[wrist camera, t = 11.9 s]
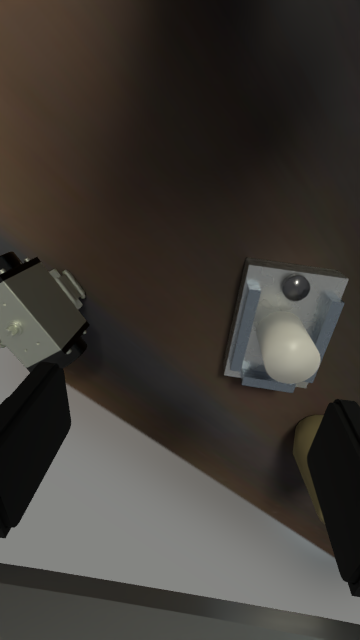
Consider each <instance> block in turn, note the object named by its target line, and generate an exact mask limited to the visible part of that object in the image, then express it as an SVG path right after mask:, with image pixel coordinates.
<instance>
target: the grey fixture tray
mask: <svg viewBox="0 0 360 640" xmlns="http://www.w3.org/2000/svg"><path fill="white" fill-rule="evenodd" d="M348 280H349V279H348V278H347V277H346V276H344V275H343V274H342V273H341V272H339V271H338V270H332V269H325V268H318V267H311V266H304V265H297V264H290V263H283V262H276V261H269V260H262V259H255V258H247V257H246V261H245V266H244V270H243V275H242V279H241V284H240V288H239V293H238V297H237V302H236V306H235V311H234V316H233V320H232V325H231V329H230V334H229V338H228V343H227V347H226V352H225V356H224V361H223V363H224V375H226V376H232V377H238V378H241V384H242V385H246V386H252V387H258V388H265V389H271V390H277V391H283V392H290V393H293V391H294V389H295V387H301V388H306V387H307V384H308V383H313V381H314V378H315V376H316V373H317V371H318V370H317V371H316V372H315V373H314V375H312V376H311V377H310V378H308V379H307V380H305V381H302V382H299V383H294V384H286V383H281V382H278V381H276V380H274V379H273V378H271V377H270V376H269V375H267V373H266V369H265V365H264V361H263V358H262V354H261V350H260V346H259V342H258V338H257V327H258V325H259V323H260V322H261V320H262V319H263V318H264V317H266V316H267V315H269V314H271V313H274V312H278V311H286V312H290V313H292V314H294V315H296V316H297V317H298V318H299V319H300V320H301V322H302V324H303V325H304V327H305V329H306V331H307V332H308V334H309V336H310V338H311V339H312V341H313V343H314V345H315V346H316V348H317V350H318V351H319V354H320V363H321V361H322V358H323V356H324V353H325V351H326V348H327V346H328V343H329V341H330V338H331V336H332V333H333V331H334V328H335V326H336V323H337V321H338V318H339V316H340V313H341V311H342V308H343V306H344V302H343V301H342V300H341V297H342V295H343V292H344V290H345V287H346V285H347V282H348ZM319 366H320V365H319Z"/></svg>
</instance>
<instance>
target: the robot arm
mask: <svg viewBox="0 0 360 640" xmlns="http://www.w3.org/2000/svg"><path fill="white" fill-rule="evenodd" d="M70 426H71V417H70V410H69V403H68V397H67V390H66V383H65V376H64V370H63V369H62V368H60V367H59V365H58V364H57V363H50V362H40V363H38V365H37V366H36V367H35V368H34V369H33V370H32V371H31V373H30V374H29V375H28V376H27V377H26V378H25V380H24V381H23V382H22V383H21V384H20V385H19V386H18V388H17V389H16V390H15V391H14V392H13V393H12V394H11V395H10V396H9V397H8V398H6V399H5V400H4V401H3V402H2V404H1V405H0V538H6V536H7V534H8V532H9V531H10V529H11V527H16V526H17V525H18V523H19V522H20V520H21V518H22V516H23V515H24V513H25V511H26V509H27V507H28V505H29V503H30V502H31V500H32V498H33V496H34V494H35V492H36V490H37V489H38V487H39V485H40V483H41V481H42V479H43V478H44V476H45V474H46V472H47V470H48V468H49V467H50V465H51V463H52V461H53V459H54V457H55V456H56V454H57V452H58V450H59V448H60V446H61V445H62V442H63V441H64V439H65V437H66V435H67V434H68V432H69V429H70ZM307 464H308V468H309V471H310V475H311V478H312V482H313V485H314V488H315V492H316V495H317V498H318V502H319V505H320V508H321V512H322V515H323V518H324V522H325V525H326V528H327V532H328V535H329V538H330V542H331V545H332V548H333V552H334V555H335V559H336V562H337V565H338V569H339V572H340V575H341V577H342V579H343V580H344V581H346V582H348V585H349V588H350V591H351V594H352V596H357V597H360V407H359V405H358V404H357V403H356V402H355V401H348V400H340V399H336V400H335V401H334V402H333V403H329V405H328V407H327V409H326V411H325V414H324V416H323V418H322V421H321V423H320V426H319V428H318V430H317V433H316V435H315V437H314V440H313V442H312V444H311V447H310V449H309V452H308V454H307ZM0 640H360V625H359V624H353V623H349V622H343V621H339V620H333V619H328V618H323V617H318V616H312V615H306V614H301V613H295V612H289V611H283V610H278V609H272V608H267V607H261V606H255V605H250V604H243V603H238V602H233V601H227V600H221V599H215V598H209V597H204V596H198V595H192V594H186V593H180V592H174V591H168V590H162V589H156V588H151V587H145V586H139V585H133V584H126V583H121V582H115V581H109V580H103V579H97V578H91V577H85V576H79V575H73V574H67V573H61V572H54V571H49V570H43V569H36V568H29V567H23V566H16V565H9V564H2V563H0Z"/></svg>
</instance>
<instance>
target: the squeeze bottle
mask: <svg viewBox="0 0 360 640" xmlns="http://www.w3.org/2000/svg"><path fill="white" fill-rule="evenodd" d="M323 416H324V415H313V416H309V417H306V418H304V419H303V420H301V421H300V422H299V423H298V425H297V426H296V429H295V437H294V446H293V455H294V458H295V460H296V463H297V465H298V468H299V470H300V473H301V475H302V477H303V480H304V482H305V485H306V487H307V490H308V492H309V495H310V497H311V500H312V502H313V505H314V507H315V510H316V512H317V514H318V517H319V519H320V521H322V522H323V523H324V524H325V522H324V518H323V515H322V512H321V508H320V505H319V502H318V498H317V495H316V492H315V488H314V485H313V482H312V478H311V475H310V471H309V468H308V464H307V454H308V452H309V449H310V447H311V444H312V442H313V440H314V437H315V435H316V433H317V430H318V428H319V426H320V423H321V421H322V418H323Z"/></svg>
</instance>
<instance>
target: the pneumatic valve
mask: <svg viewBox="0 0 360 640" xmlns="http://www.w3.org/2000/svg"><path fill="white" fill-rule="evenodd" d="M24 262H25V263H22V262H21V261H20V259H19V258H18V257H17V256H16V254H15V253H14V252H8V253H6V254H3V255H1V256H0V348H4V347H6V346H7V348H8V349H9V350H10V351H11V352H12V353H13V354H14V355H15V356H16V357H17V358H18V360H19V361H20V362H21V363H22V364H23V365H24V366H25V367H26V368H27V369H28V370H29V372H30V373H31V371H32V370H33V369H34V368H35V367H36V366H37V365H38V363H40V362H50V363H57V364H58V365H59V367H60V368H62V369H63V368H64V367H66V366H68V365H69V364H71V363H72V362H73V361H75V360H76V359H77V358H78V357H79V356H80V355H81V354H82V353H83V352H84V351H85V350H86V348H87V344H86V342H85V341H84V340H83V339H82V337H81V335H84V334H86V333H87V331H86V329H87V328H88V326H89V324H88V322H87V321H86V320H85V318H84V317H83V316H82V314H81V313H80V312H79V311H78V309H79V308H81V307H82V306H83V304H82V303H81V301H80V300H79V299H78V298H79V297H81V298H83V299H84V298H85V294H84V293H85V291H84V290H83V289H82V287H81V286H80V285H79V283H78V282H77V281H76V279H75V278H74V277H73V275H72V274H71V273H70V271H67V270H64V271H63V272H62V273H63V275H62V276H61V275H60V274H59V272H58V271H57V270H56V269H53V270H52V271H50V272H48V270H47V269H46V268H45V266H44V265H43V264H42V263H41V261H40V260H39V259H38V257H36V258H34V259H32V260H30V259H29V257H28V258H26V259H24Z"/></svg>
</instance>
